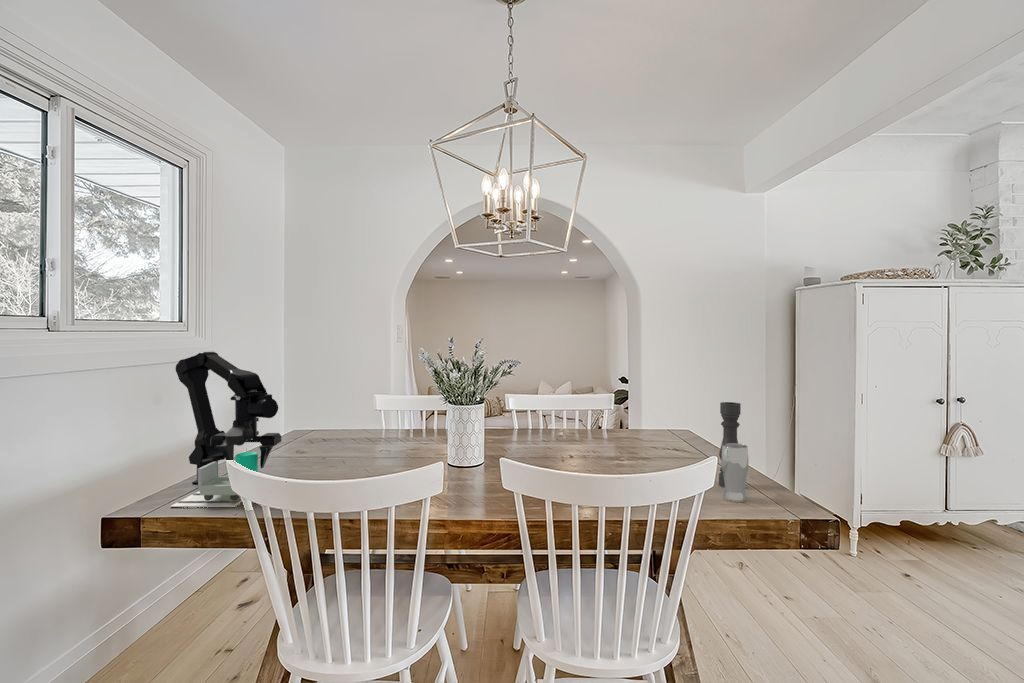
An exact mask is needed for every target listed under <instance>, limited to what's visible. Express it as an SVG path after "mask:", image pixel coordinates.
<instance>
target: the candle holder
mask: <svg viewBox="0 0 1024 683" xmlns="http://www.w3.org/2000/svg"><path fill="white" fill-rule="evenodd" d="M719 404H720V408H719V410H720V412H719V413H720V414H721V415H720V416H721V418H722V420H723V421H722V422H720V425H721V426H722V428H723V429H722V430H723V431H722V432H723V433H722V435H723V436H722V441H721V445H720V449H719V453H718V456H719V458H720V460H721V461H722V445H723V444H725V443H737V444H739V441H738V440H739V439H738V428H739V427H740V423H739V422H738V420H739V418H740V415H741V403H740V402H729V401H723V402H719ZM718 486H720V487H721V488H723V489H724V488H725V483H724V476H723V471H722V466H721V467H720V468H719V473H718Z"/></svg>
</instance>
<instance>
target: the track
mask: <svg viewBox="0 0 1024 683" xmlns="http://www.w3.org/2000/svg"><path fill="white" fill-rule="evenodd" d="M239 503H241V499H240V497H239V498H238V499H237V500H235V501H233V500H231V499H230V495H213V498H212V499H211V500H209V501H207V500H205V499H204V495H200V491H196V492H194V493H193V494H191V495H189V496H186V497H185V498H183V499H181V500H180V501H177V502H175V503H173V504H172V505H170V506H169V507H182V508H181V509H189V508H190V509H197V507H199V508H198V509H201V508H200V507H203V508H204V507H207V508H208V507H235V506H236V507H238V506H239V505H240V504H239ZM238 504H239V505H238ZM241 504H242V503H241ZM237 505H238V506H237ZM183 507H184V508H183ZM187 507H188V508H187ZM236 507H235V508H236ZM203 508H202V509H203ZM204 509H205V508H204Z"/></svg>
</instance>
